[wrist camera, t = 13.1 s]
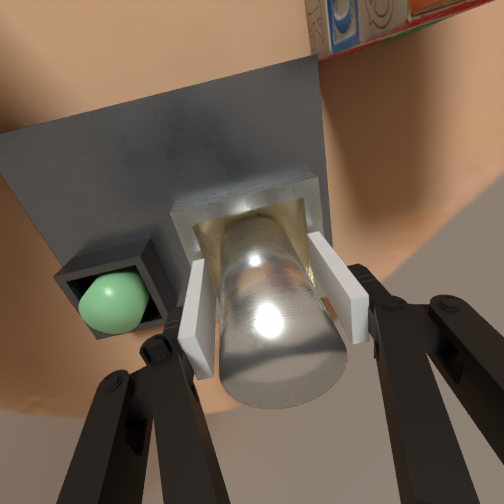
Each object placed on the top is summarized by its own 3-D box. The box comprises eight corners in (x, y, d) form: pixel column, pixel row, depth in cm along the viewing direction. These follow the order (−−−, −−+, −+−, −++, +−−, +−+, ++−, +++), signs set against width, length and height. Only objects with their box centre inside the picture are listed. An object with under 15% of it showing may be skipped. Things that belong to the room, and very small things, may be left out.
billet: (211, 227, 18) (202, 339, 9) (284, 209, 18) (344, 305, 9) (230, 285, 20) (236, 419, 12) (294, 270, 20) (349, 393, 12)
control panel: (-9, 137, 15) (-67, 145, 12) (311, 57, 15) (334, 43, 12) (112, 326, 23) (94, 360, 19) (331, 274, 22) (348, 301, 19)
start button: (89, 268, 18) (66, 296, 16) (140, 256, 18) (126, 281, 15) (113, 308, 20) (96, 339, 17) (160, 297, 20) (151, 326, 17)
